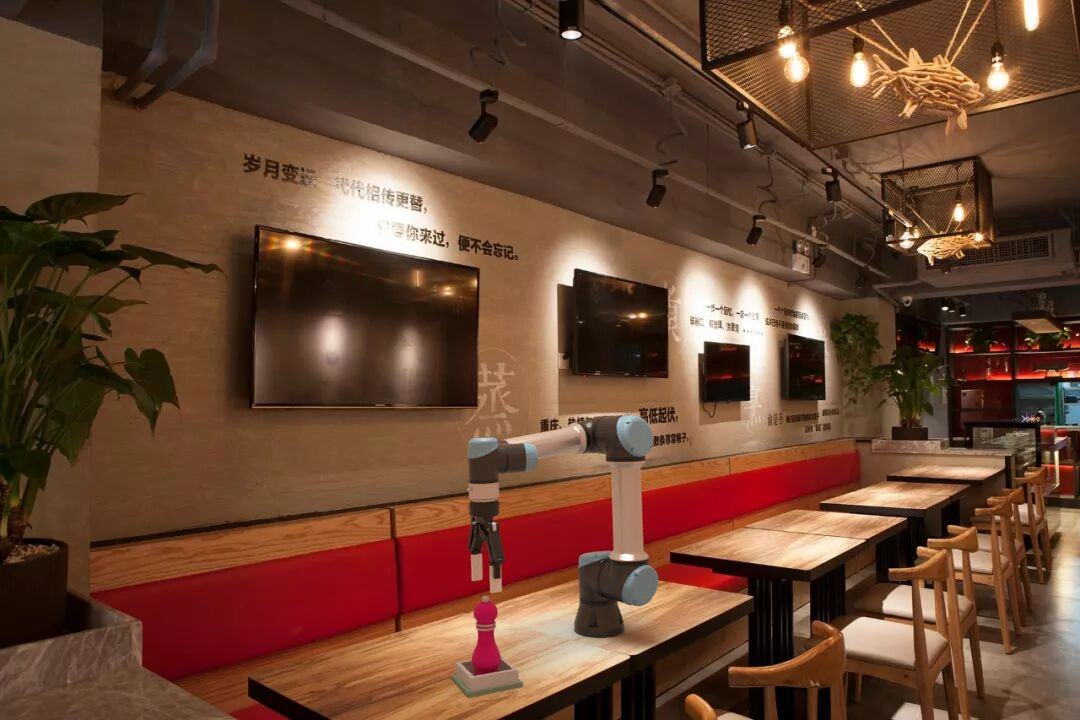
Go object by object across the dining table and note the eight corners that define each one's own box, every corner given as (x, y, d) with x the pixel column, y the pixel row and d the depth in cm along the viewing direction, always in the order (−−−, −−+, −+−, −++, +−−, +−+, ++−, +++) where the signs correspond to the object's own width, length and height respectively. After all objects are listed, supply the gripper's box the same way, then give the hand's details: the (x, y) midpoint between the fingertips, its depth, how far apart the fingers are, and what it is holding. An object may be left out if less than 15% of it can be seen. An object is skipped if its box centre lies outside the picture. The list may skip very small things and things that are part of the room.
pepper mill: (496, 685, 168) (495, 599, 169) (468, 683, 169) (467, 598, 171) (504, 673, 175) (503, 592, 176) (476, 672, 176) (475, 591, 178)
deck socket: (503, 669, 181) (503, 653, 181) (523, 686, 169) (522, 669, 169) (451, 678, 175) (451, 662, 175) (467, 697, 163) (467, 679, 163)
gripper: (454, 495, 185) (456, 577, 184) (487, 506, 162) (489, 599, 161) (481, 493, 188) (483, 573, 187) (517, 504, 166) (519, 595, 164)
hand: (486, 586), depth 174 cm, fingers open, 13 cm apart
